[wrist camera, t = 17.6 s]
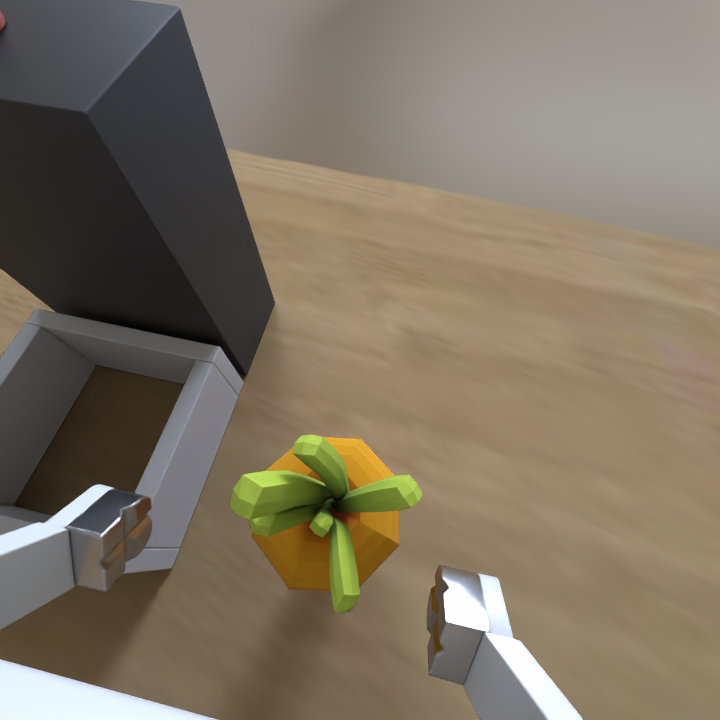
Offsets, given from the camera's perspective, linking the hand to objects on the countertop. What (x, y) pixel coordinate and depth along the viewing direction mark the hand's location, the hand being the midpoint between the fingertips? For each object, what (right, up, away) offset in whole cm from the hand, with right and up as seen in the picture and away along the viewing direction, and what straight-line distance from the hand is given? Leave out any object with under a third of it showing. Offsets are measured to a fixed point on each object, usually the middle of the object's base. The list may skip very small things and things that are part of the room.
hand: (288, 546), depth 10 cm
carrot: (+1, -4, +11) cm, 12 cm away
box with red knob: (-12, +3, +14) cm, 18 cm away
